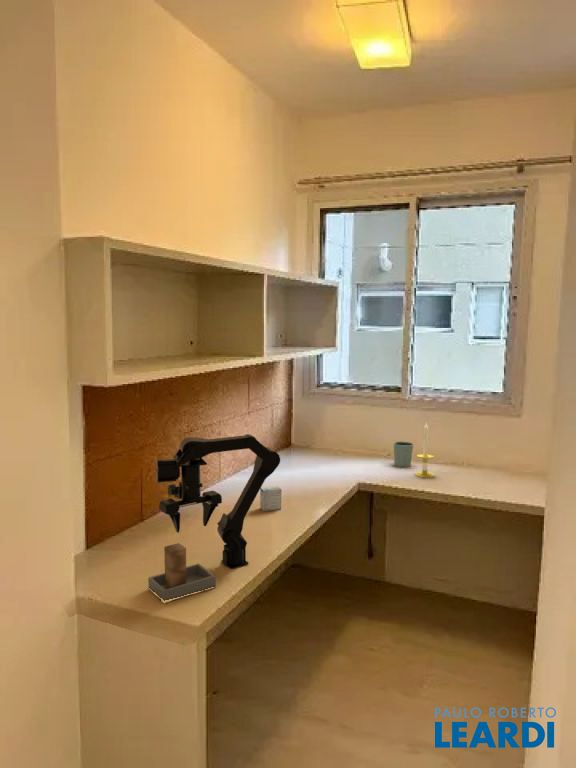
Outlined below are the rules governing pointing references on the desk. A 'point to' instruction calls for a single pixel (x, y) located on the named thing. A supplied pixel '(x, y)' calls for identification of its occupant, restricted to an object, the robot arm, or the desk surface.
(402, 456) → the green cup
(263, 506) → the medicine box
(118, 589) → the desk surface
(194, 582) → the tray
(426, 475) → the candle
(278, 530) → the desk surface
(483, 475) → the desk surface
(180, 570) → the walnut block
